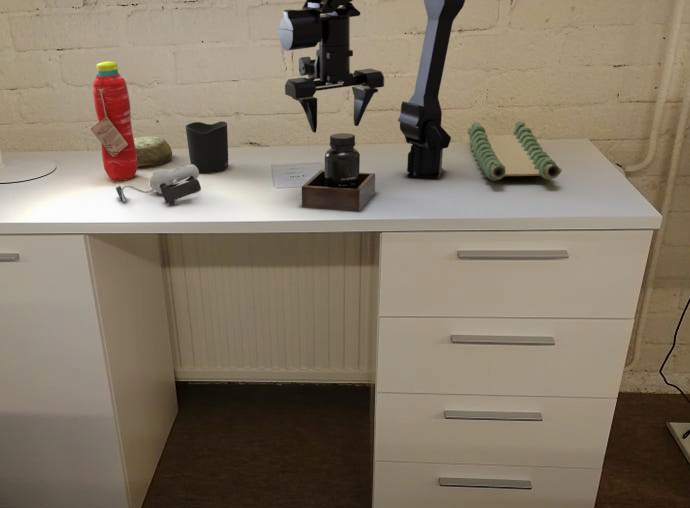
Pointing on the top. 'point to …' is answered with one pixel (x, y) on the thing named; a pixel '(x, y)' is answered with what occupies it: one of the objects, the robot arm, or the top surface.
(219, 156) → the pen holder
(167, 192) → the clip-on lamp
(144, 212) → the top surface
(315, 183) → the holder
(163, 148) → the mossy green stone
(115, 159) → the water bottle
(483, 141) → the stretcher
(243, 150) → the top surface
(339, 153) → the supplement bottle
